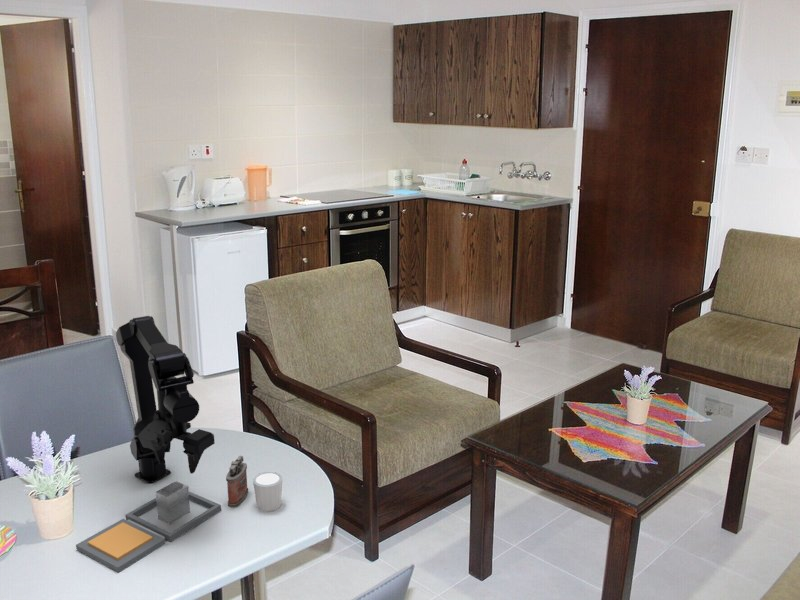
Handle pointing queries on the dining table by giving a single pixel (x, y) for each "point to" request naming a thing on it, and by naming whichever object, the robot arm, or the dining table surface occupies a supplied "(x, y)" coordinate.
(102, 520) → the dining table surface
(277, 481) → the grey cup
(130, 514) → the gray square frame
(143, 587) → the dining table surface
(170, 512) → the block
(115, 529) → the lid
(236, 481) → the red tin
